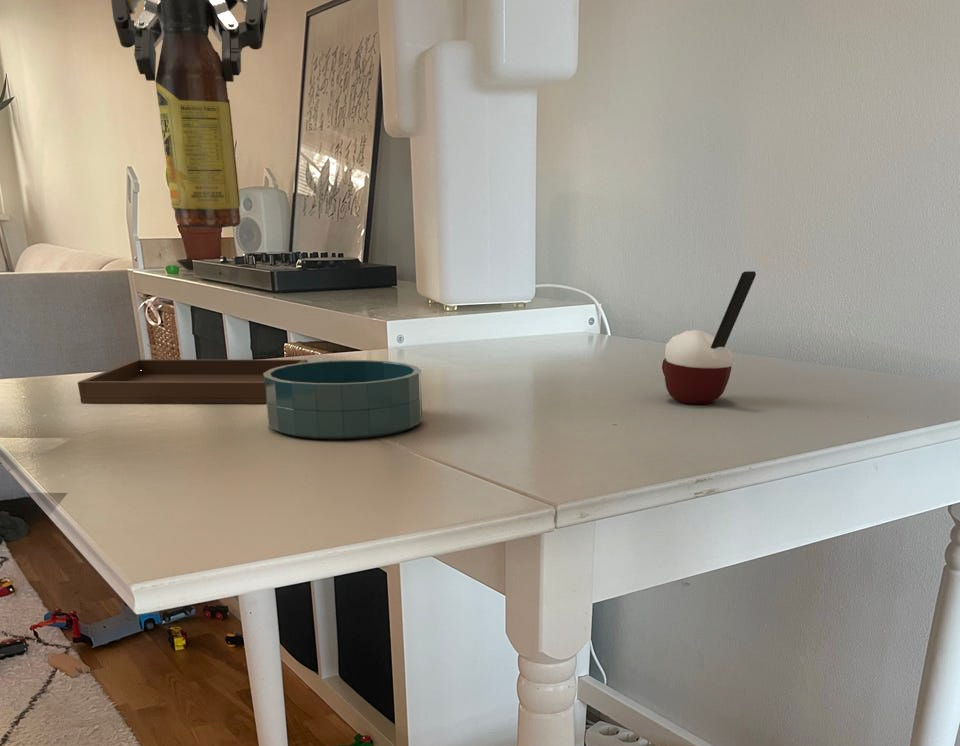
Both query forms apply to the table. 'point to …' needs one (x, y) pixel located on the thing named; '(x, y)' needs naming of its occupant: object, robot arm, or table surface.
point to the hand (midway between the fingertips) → (188, 72)
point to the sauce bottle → (196, 120)
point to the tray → (181, 381)
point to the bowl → (343, 398)
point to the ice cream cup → (704, 355)
